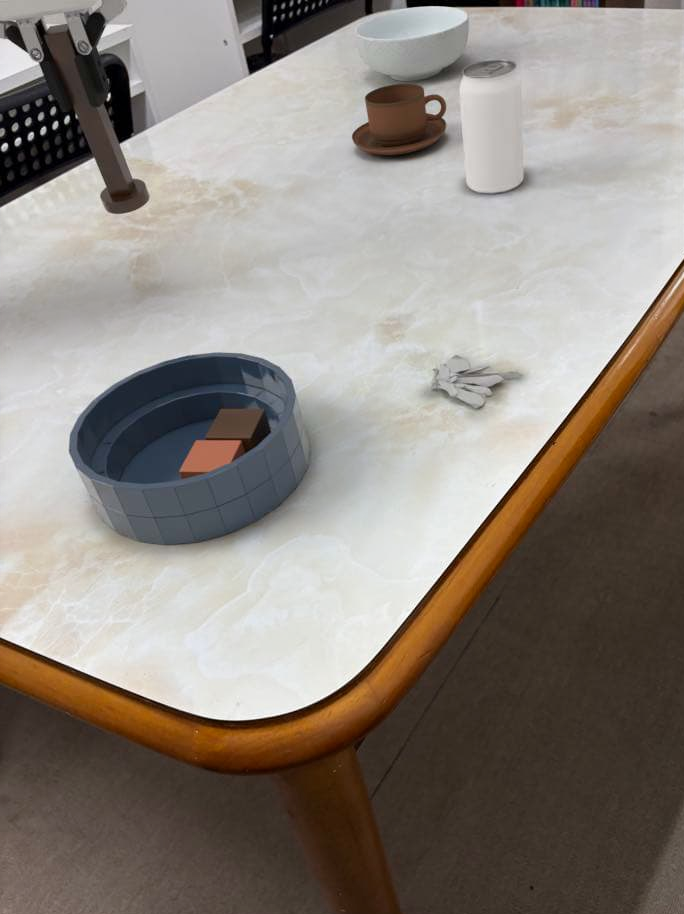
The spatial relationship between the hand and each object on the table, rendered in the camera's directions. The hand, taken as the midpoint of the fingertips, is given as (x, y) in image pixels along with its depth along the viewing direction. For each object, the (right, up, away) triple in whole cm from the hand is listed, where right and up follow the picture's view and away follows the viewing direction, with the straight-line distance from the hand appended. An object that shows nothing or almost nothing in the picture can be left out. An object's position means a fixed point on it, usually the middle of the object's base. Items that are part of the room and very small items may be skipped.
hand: (85, 102), depth 74 cm
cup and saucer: (+27, +12, +35) cm, 46 cm away
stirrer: (+1, -6, +8) cm, 9 cm away
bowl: (+13, -33, -10) cm, 37 cm away
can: (+38, +2, +22) cm, 44 cm away
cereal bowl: (+30, +33, +56) cm, 72 cm away
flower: (+34, -26, -6) cm, 43 cm away
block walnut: (+16, -32, -10) cm, 37 cm away
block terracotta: (+15, -35, -13) cm, 40 cm away
